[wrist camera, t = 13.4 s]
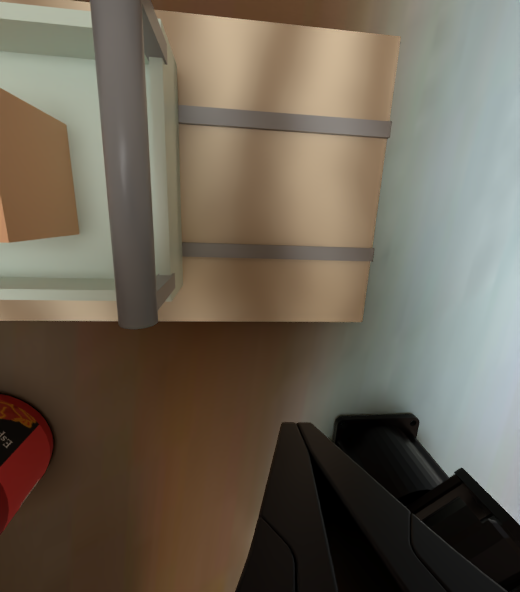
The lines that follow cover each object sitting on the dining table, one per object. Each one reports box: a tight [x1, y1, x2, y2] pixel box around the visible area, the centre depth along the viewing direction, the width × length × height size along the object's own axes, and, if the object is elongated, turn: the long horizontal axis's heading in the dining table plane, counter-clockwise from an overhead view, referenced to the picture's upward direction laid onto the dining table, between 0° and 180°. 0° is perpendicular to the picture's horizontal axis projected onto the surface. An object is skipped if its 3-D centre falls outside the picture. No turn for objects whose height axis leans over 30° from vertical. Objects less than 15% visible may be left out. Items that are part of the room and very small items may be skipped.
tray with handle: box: [0, 0, 183, 329], centre depth 11 cm, size 12×11×9 cm
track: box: [0, 0, 401, 322], centre depth 15 cm, size 27×16×4 cm, turn 88°
